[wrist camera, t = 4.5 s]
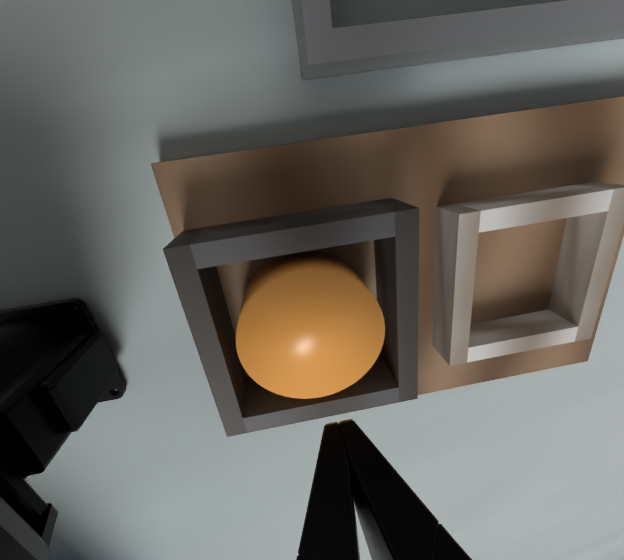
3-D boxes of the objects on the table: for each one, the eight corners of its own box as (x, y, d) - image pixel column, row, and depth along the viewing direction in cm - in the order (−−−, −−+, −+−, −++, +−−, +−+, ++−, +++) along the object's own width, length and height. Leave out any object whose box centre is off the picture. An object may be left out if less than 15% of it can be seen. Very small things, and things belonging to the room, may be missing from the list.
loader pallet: (238, 416, 20) (231, 477, 17) (160, 162, 14) (118, 166, 10) (571, 350, 22) (635, 392, 18) (637, 94, 16) (757, 75, 12)
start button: (255, 375, 17) (253, 410, 15) (226, 264, 14) (218, 285, 12) (371, 353, 17) (387, 384, 15) (364, 241, 15) (382, 258, 12)
